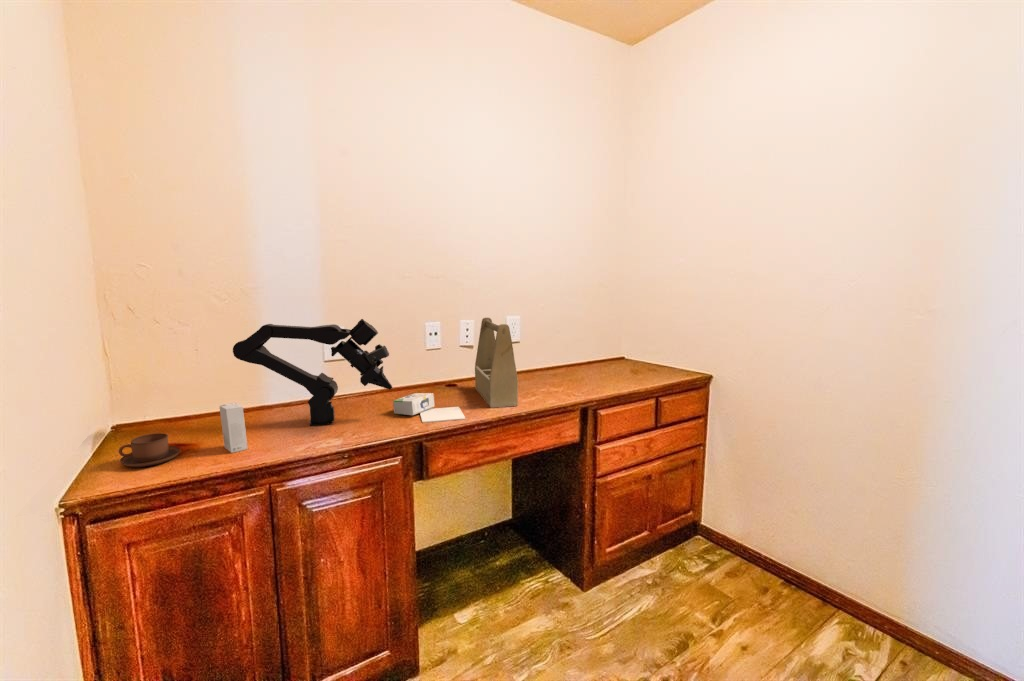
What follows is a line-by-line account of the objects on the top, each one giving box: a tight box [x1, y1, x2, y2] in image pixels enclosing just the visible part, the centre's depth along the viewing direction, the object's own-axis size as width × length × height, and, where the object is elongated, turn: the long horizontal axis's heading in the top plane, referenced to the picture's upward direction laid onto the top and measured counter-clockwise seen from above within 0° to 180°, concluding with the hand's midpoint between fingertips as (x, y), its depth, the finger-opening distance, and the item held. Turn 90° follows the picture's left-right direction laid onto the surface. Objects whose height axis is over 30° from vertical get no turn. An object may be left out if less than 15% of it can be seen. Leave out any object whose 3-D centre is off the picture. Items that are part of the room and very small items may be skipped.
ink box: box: [392, 392, 436, 416], centre depth 160 cm, size 9×5×12 cm
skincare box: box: [219, 402, 248, 454], centre depth 125 cm, size 6×4×12 cm
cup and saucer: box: [118, 433, 181, 468], centre depth 117 cm, size 12×12×6 cm
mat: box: [419, 406, 467, 424], centre depth 157 cm, size 14×14×1 cm
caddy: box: [474, 317, 519, 409], centre depth 178 cm, size 29×11×30 cm, turn 15°
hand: (391, 388), depth 151 cm, fingers closed
